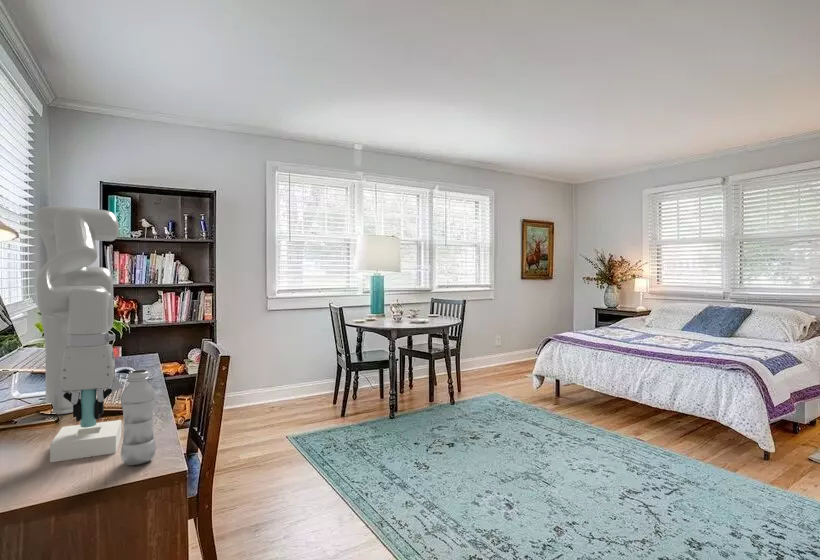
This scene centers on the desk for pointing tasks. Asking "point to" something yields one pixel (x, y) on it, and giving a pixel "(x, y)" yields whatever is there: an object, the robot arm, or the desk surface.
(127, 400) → the plastic bottle
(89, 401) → the peg
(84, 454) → the hole block
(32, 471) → the desk surface
